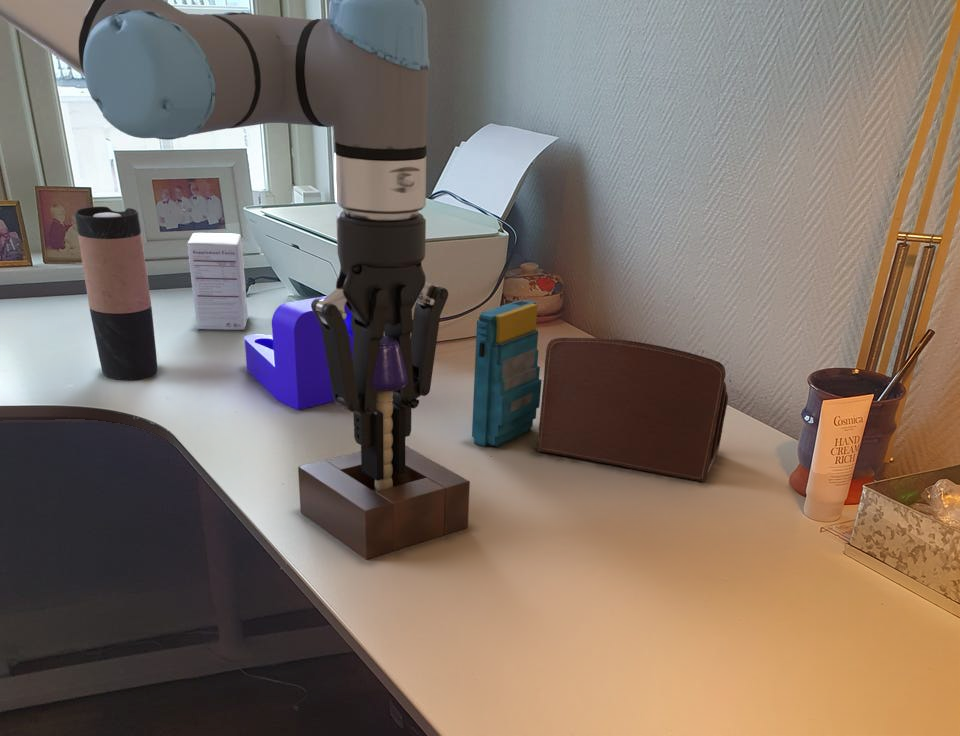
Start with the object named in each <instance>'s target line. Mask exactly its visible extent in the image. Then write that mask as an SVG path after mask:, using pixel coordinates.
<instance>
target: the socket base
mask: <svg viewBox="0 0 960 736" xmlns="http://www.w3.org/2000/svg"><path fill="white" fill-rule="evenodd" d="M297 474H298V475H297V476H298V489H299V490H298V492H299V509H300V514H302V515H303V516H305V517H306V518H307V519H309V520H310V521H311V522H313V523H314V524H316V525H317V526H319V527H320V528H321V529H323V530H324V531H325V532H327V533H328V534H330V535H331V536H332V537H334V538H336V539H337V540H338V541H340V542H341V543H342V544H344V545H345V546H347V547H348V548H350V549H351V550H352V551H354V552H355V553H356V554H358V555H359V556H361V557H362V558H363V559H364V560H369V559H373V558H376V557H380V556H382V555H386V554H389V553H391V552H394V551H398V550H401V549H404V548H408V547H411V546H413V545H416V544H420V543H423V542H426V541H427V542H428V541H430V540H433V539H436V538H439V537H442V536H445V535H448V534H452V533H454V532H458V531H461V530H465V529H468V528H469V510H470V509H469V508H470V487H471V485H470V484H471V482H470V480H469V479H467V478H464V477H463V476H461V475H459V474H457V473H455V472H454V471H452V470H450V469H448V468H447V467H445V466H443V465H441V464H439V463H438V462H436V461H434V460H433V459H430V458H429V457H427V456H425V455H423V454H421V453H420V452H418V451H416V450H414V449H413V448H411V447H409V446H407V445H405V473H404V474H401V475H398V474H396V473H395V472H393V473H392V476H391V478H392V481H393V487H391V488H387V489H383V490H380V491H376V492H374V491H373V490H375V479H373V478H372V477H370V476H369V475H367V474H365V473H364V472H362V470H361V450H360V451H356V452H351V453H346V454H343V455H339V456H335V457H331V458H327V459H323V460H318V461H315V462H310V463H306V464H302V465H298V466H297Z"/></svg>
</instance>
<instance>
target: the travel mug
mask: <svg viewBox="0 0 960 736" xmlns="http://www.w3.org/2000/svg"><path fill="white" fill-rule="evenodd" d="M74 217H75V224H76V230H77V238H78V243H79V250H80V257H81V263H82V270H83V276H84V283H85V289H86V296H87V301H88V308H89V313H90V319H91V324H92V329H93V333H94V339H95V343H96V348H97V353H98V358H99V363H100V368H101V372H102V375H103V376H104V377H107V378H109V379H112V380H120V381H122V380H123V381H131V380H141V379H146V378H149V377H152V376H154V375H155V374H157V372H158V370H159V369H158V358H157V357H158V356H157V347H156V337H155V328H154V317H153V309H152V307H153V306H152V299H151V292H150V285H149V277H148V271H147V263H146V258H145V252H144V251H145V249H144V242H143V235H142V229H141V228H142V227H141V222H140V215H139V211H138V210H136V209H134V208H131V207H128V208H126V209H125V210H124V211H115V210H112V209H111V208H110V207H108V206H90V207H89V206H88V207H83V208H79V209H77V210H75V212H74Z"/></svg>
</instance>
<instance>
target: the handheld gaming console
mask: <svg viewBox="0 0 960 736" xmlns="http://www.w3.org/2000/svg"><path fill="white" fill-rule="evenodd" d="M538 306H539V305H538V304H537V302H536V301H533V300H529V299H523V300H520V299H519V300H515V301H512V302H509V303H506V304H502V305H500V306H497V307H494V308H490V309H489V310H484V311H482V312H480V314H479V316H478V320H476V333H475V336H476V337H475V353H474V354H475V357H474V361H475V362H474V381H473V399H472V400H473V402H472V424H471V425H472V426H471V437H472V438H473V444H474V445H477V446H480V447H482V448H483V447H484V448H486V447H487V446H489V447H492V448H498V447H500V446H502V445H504V444H506V443H508V442H510V441H512V440H514V439H516V438H518V437H520V436H522V435H524V434H526V433H529V432H530V431H531V430H532V428H533V425H534V420H535V419H537V410H538V409H539V408H540V406H541V405H540V404H541V403H540V402H541V394H542V393H541V391H542V379H540V372H541V366H538V363H539V362H538V361H539V352H540V351H539V349H538V342H539V341H538V339H539V331H538V330H537V321H538V320H537V318H538Z"/></svg>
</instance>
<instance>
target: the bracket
mask: <svg viewBox="0 0 960 736" xmlns="http://www.w3.org/2000/svg"><path fill="white" fill-rule="evenodd" d="M327 296H328V295H326V296H318V297H313V298H308V299H300V300H296V301H290V302H285V303H282V304H280V305H279V306H278V307H277V308H276V309H275V311H274V312H273V314H272V318H271V333H272V335H270V334H265V333H253V334H248V335H245V336H244V337H243V339H244V350H245V351H244V352H245V364H246V371H247V372H248V373H249V374H250V375H251V376H252V377H253V378H254V379H255V380H256V381H257V382H258V383H259V384H260V385H261V386H262V387H263V388H264V389H265V390H266V391H267V392H268V393H269V394H270V395H271V396H272V397H273V398H274V399H275V400H276V401H277V402H279V403H282V404H284V405H286V406H288V407H290V408H293V409H294V410H297V411H301V410H305V409H309V408H312V407H316V406H320V405H324V404H328V403H332V402H334V399H333V393H332V387H331V382H330V376H329V370H328V364H327V359H326V353H325V347H324V341H323V335H322V330H321V325H320V323H319V321H318V320H317V318H316V316H315V314H314V312H313V310H312V308H311V303H312V301H313V300H314V299H316V298H319V299H322V300H324V299H325V298H326V297H327ZM345 313H346V314H347V317H346V319H344V322H345V324H346V327H347V330H348V336H349V342H350V348H351V355H352V361H353V342H354V333H353V331H352V328H351V321H352V313H351V311H350V310H349V308H348V307H347V305H346V304H345Z"/></svg>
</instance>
